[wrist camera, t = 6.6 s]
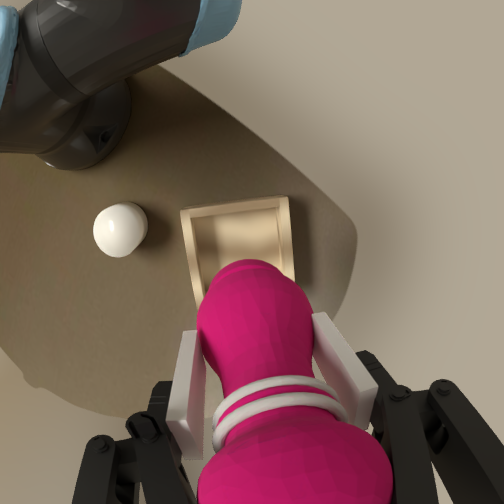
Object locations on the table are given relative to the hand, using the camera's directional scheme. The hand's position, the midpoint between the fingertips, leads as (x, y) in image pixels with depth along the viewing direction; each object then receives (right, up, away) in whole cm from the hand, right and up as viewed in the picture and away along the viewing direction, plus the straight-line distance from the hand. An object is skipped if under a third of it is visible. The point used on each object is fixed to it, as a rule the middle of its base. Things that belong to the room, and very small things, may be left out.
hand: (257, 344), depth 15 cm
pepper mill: (0, +2, +6) cm, 7 cm away
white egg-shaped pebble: (-16, +9, +19) cm, 26 cm away
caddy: (-2, +6, +21) cm, 22 cm away
